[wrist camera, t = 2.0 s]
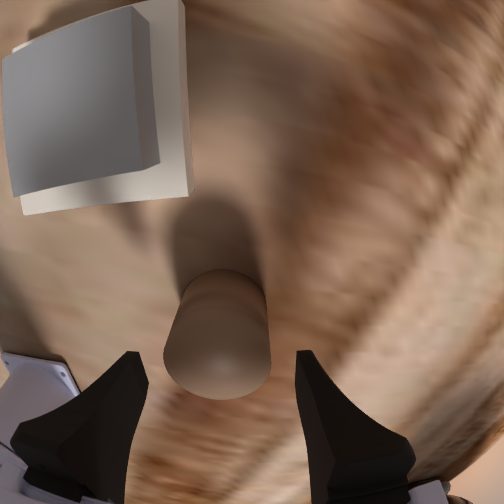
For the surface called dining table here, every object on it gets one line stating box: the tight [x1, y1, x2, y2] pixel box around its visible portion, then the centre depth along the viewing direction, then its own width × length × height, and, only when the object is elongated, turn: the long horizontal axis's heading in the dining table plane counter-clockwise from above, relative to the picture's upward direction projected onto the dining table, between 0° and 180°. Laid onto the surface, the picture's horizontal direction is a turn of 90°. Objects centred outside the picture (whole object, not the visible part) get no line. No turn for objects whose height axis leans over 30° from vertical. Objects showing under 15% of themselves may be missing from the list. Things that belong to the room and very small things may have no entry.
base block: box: [12, 0, 195, 215], centre depth 14 cm, size 10×10×2 cm
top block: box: [2, 5, 160, 197], centre depth 11 cm, size 7×7×2 cm
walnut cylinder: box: [163, 270, 271, 400], centre depth 16 cm, size 5×5×5 cm
